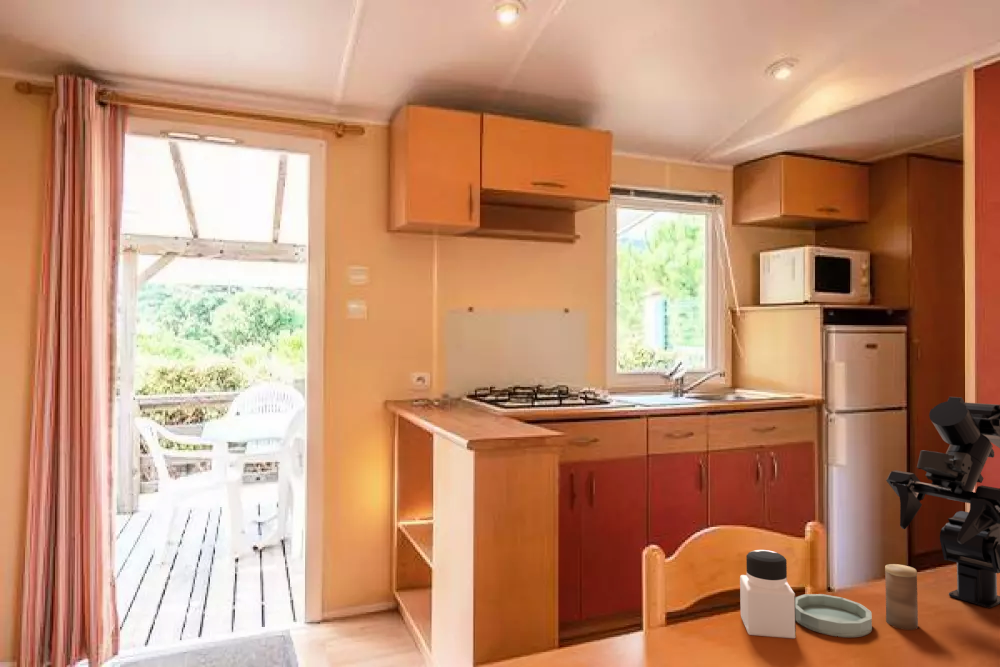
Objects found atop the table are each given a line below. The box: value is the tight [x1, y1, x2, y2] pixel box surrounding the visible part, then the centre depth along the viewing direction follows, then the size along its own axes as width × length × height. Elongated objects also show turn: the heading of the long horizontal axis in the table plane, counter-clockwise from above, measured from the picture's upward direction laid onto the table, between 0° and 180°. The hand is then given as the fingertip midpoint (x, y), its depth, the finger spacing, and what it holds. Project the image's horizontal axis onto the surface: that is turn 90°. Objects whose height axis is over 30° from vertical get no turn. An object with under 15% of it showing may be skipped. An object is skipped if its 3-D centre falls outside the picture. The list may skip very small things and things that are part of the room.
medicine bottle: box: [739, 549, 797, 639], centre depth 103 cm, size 7×7×12 cm
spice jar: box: [884, 563, 919, 631], centre depth 104 cm, size 4×4×9 cm
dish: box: [795, 593, 873, 638], centre depth 105 cm, size 12×12×2 cm
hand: (929, 534), depth 107 cm, fingers open, 9 cm apart
